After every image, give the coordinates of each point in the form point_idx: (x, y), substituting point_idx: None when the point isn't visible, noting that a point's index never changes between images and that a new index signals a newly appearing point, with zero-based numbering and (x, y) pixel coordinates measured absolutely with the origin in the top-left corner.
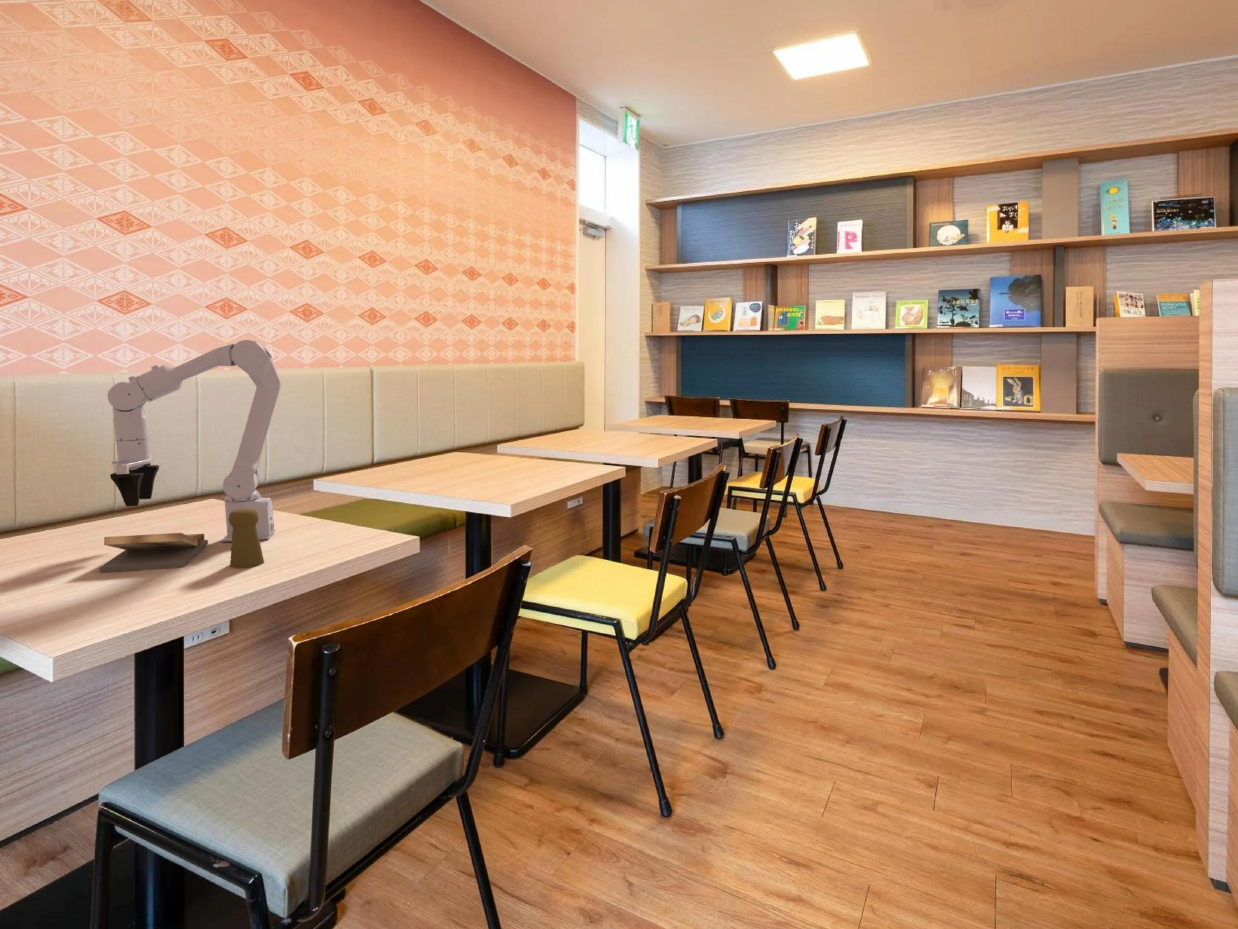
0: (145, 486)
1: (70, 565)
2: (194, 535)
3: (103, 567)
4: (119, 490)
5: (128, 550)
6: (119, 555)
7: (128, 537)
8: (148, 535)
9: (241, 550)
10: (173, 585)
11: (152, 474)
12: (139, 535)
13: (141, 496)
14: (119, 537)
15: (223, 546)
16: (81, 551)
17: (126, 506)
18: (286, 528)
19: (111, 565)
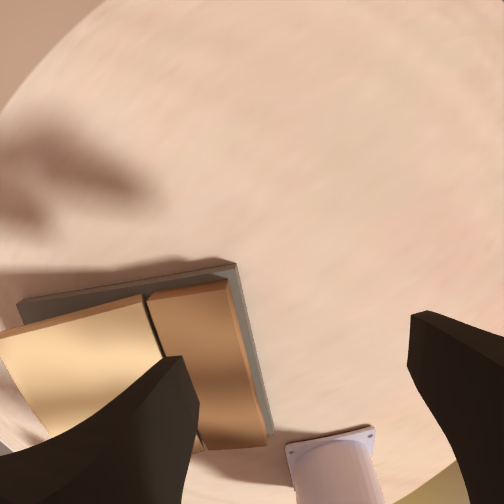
0: (451, 402)
1: (55, 183)
2: (245, 436)
3: (19, 312)
4: (86, 419)
5: (145, 296)
6: (94, 299)
7: (22, 389)
8: (45, 426)
9: None
10: (27, 423)
11: (475, 497)
12: (34, 412)
13: (420, 334)
14: (11, 372)
15: (248, 452)
16: (208, 93)
17: (164, 358)
18: (390, 473)
19: (30, 323)
